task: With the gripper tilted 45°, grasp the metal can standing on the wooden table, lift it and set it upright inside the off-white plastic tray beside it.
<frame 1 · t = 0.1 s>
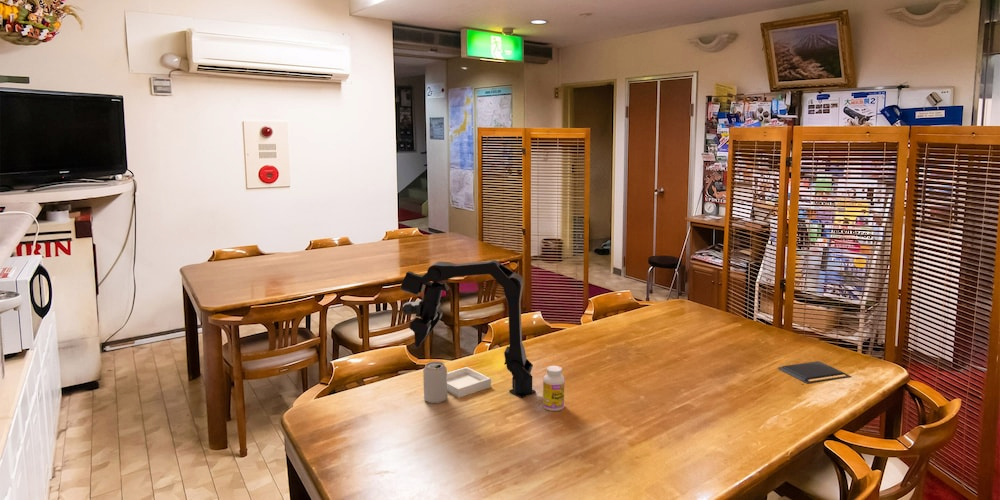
hand: (421, 342, 206), 15 cm above the table, tool pointing down, fingers open, 9 cm apart
can: (435, 400, 198), on the table
supplement bottle: (553, 407, 193), on the table
dark grey book: (813, 374, 220), on the table
tray: (462, 385, 209), on the table
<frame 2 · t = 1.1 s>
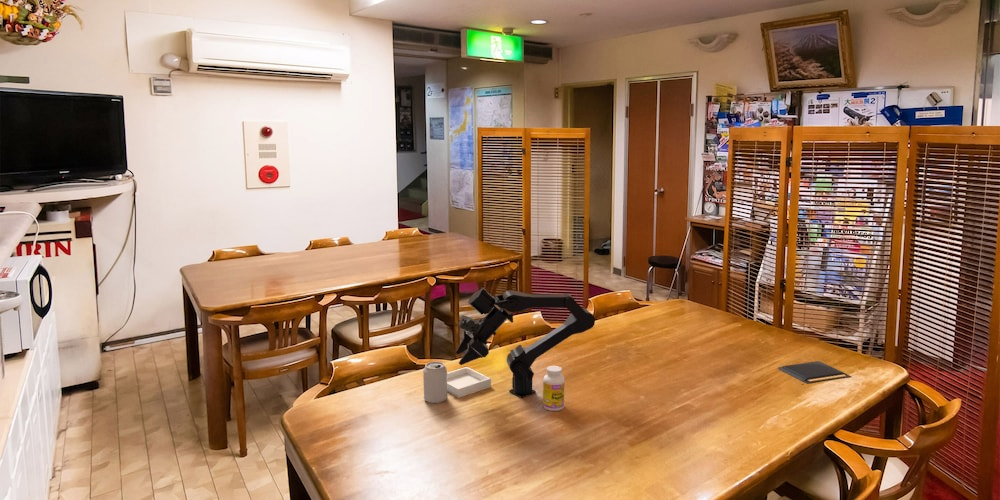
hand: (458, 358, 197), 13 cm above the table, tool tilted 45°, fingers open, 9 cm apart
nothing on the table moved.
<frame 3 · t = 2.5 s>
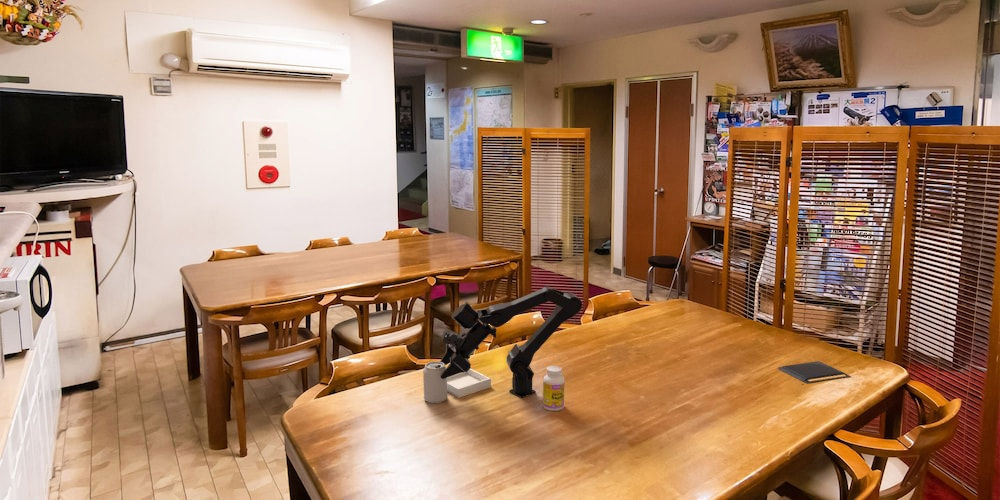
hand: (440, 372, 197), 9 cm above the table, tool tilted 45°, fingers open, 9 cm apart
nothing on the table moved.
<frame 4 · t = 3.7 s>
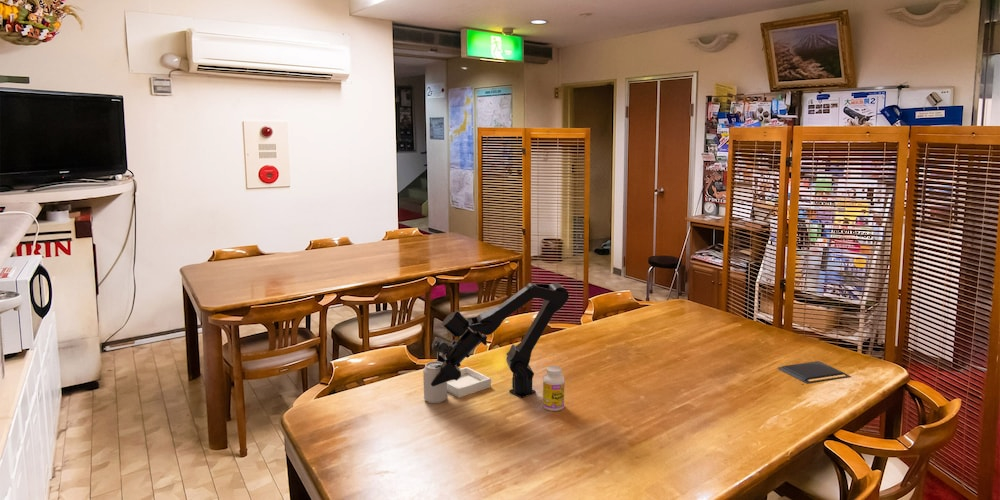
hand: (430, 380, 197), 7 cm above the table, tool tilted 45°, fingers closed on can, 7 cm apart
can: (435, 400, 198), on the table, touching gripper
everything else where it was.
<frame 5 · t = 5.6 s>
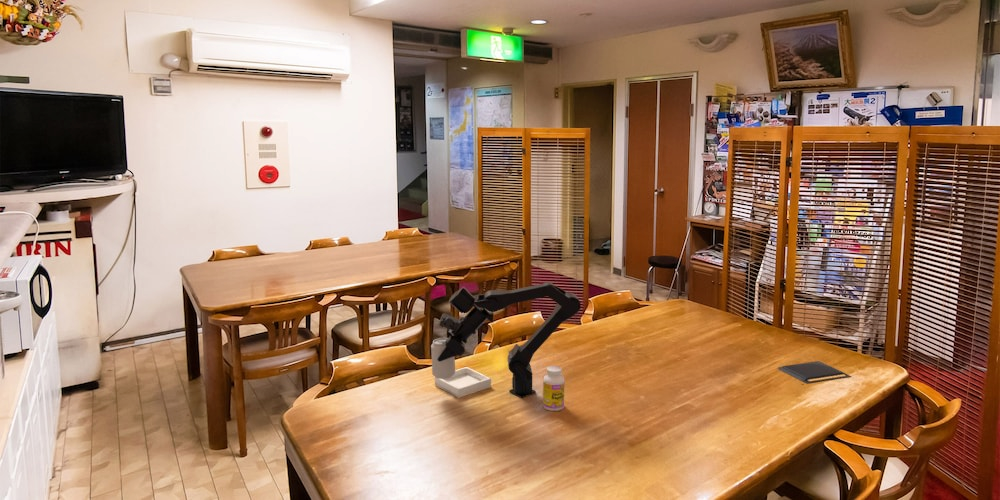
hand: (438, 356, 200), 13 cm above the table, tool tilted 45°, fingers closed on can, 7 cm apart
can: (443, 375, 201), point 6 cm above the table, touching gripper
everything else where it was.
when the fingers open (9 cm above the table, at t = 7.7 s): can drops 1 cm, resting on tray.
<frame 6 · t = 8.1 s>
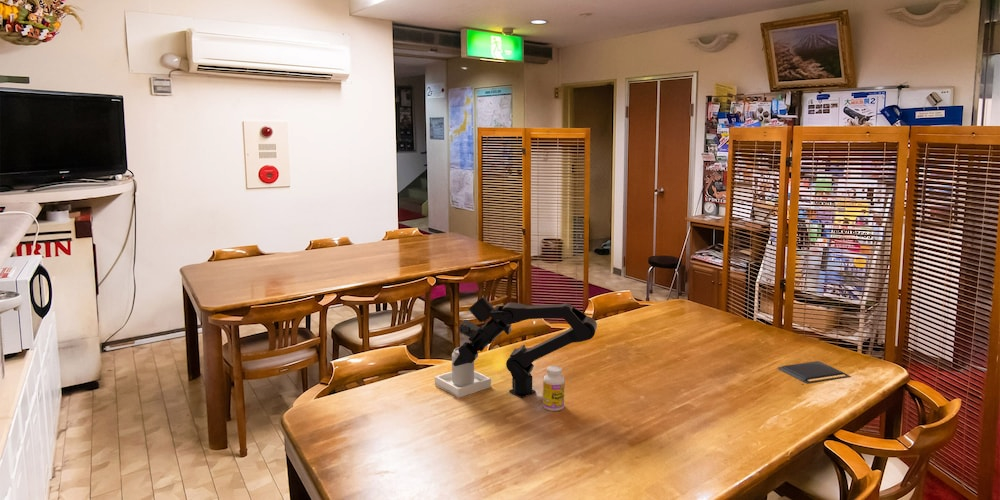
hand: (458, 360, 207), 9 cm above the table, tool tilted 45°, fingers open, 9 cm apart
can: (463, 383, 209), point 1 cm above the table, touching tray
everything else where it was.
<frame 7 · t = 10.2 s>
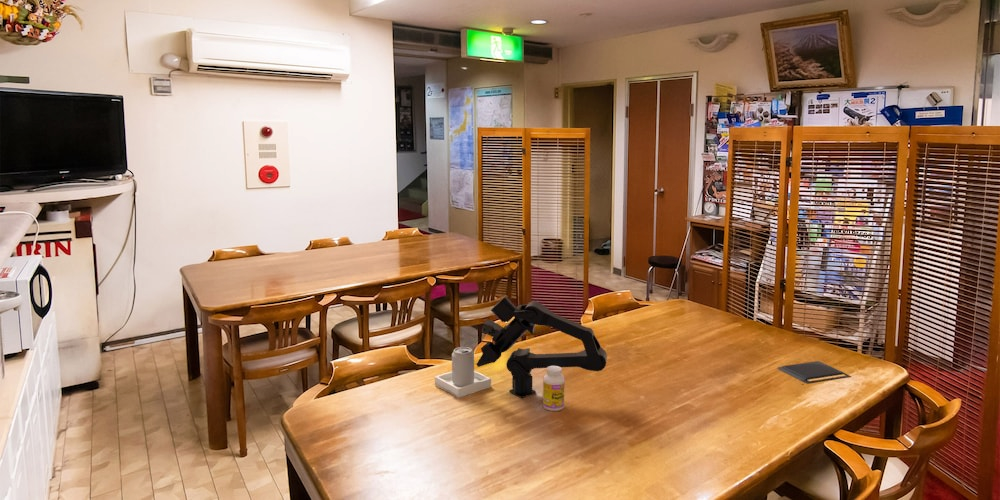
hand: (482, 361, 205), 9 cm above the table, tool tilted 45°, fingers open, 9 cm apart
nothing on the table moved.
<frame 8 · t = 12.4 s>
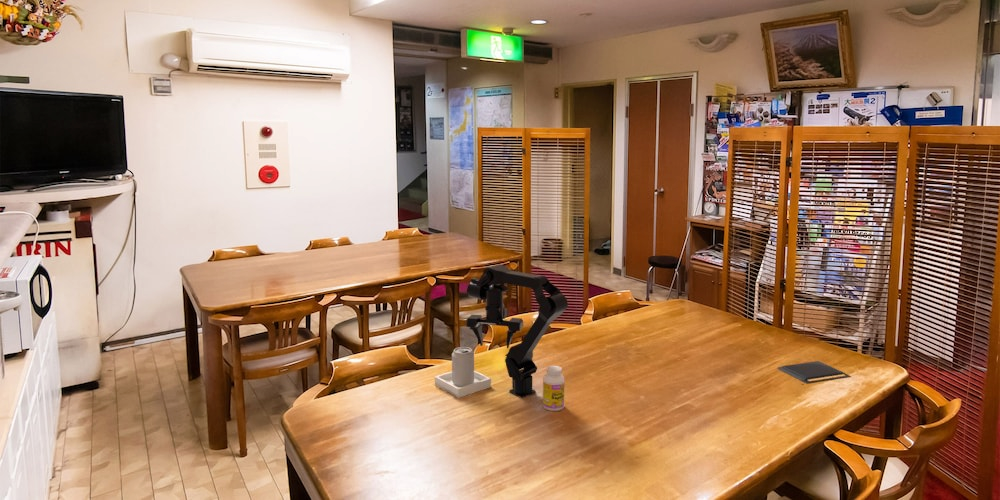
hand: (494, 346, 209), 13 cm above the table, tool pointing down, fingers open, 9 cm apart
nothing on the table moved.
at the end: can inside the target area on the tray (0.1 cm from its centre), point 0.8 cm above the tray's base; can tilted 0°; the gripper is holding nothing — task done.
